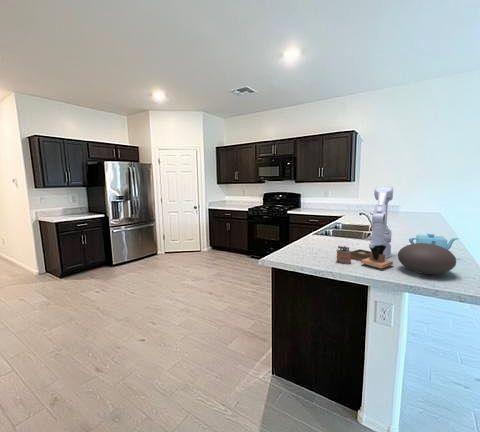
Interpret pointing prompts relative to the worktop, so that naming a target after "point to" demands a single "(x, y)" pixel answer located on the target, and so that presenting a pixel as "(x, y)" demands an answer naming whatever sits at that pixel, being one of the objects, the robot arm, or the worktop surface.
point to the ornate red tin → (343, 255)
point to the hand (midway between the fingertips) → (377, 258)
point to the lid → (377, 261)
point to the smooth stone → (427, 258)
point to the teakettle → (433, 240)
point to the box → (360, 254)
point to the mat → (377, 267)
